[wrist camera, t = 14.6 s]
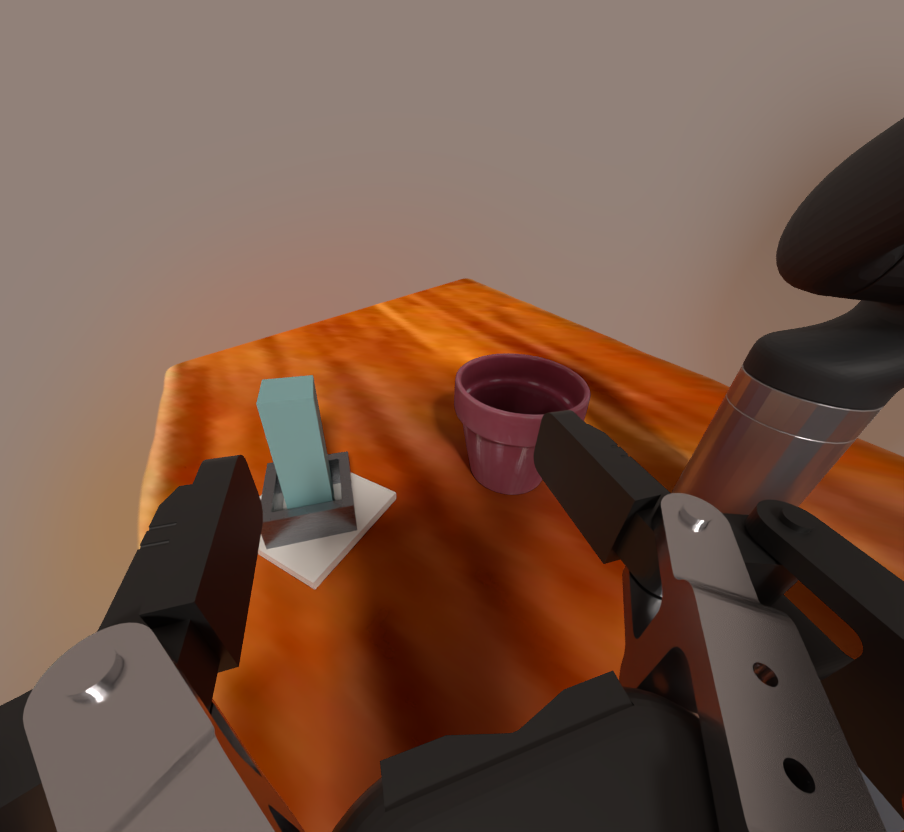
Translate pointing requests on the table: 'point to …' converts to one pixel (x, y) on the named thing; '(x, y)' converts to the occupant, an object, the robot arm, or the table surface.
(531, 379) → the plant pot
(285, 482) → the teal peg
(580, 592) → the table surface
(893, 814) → the light blue cardboard box
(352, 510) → the metal collar
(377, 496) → the base board
